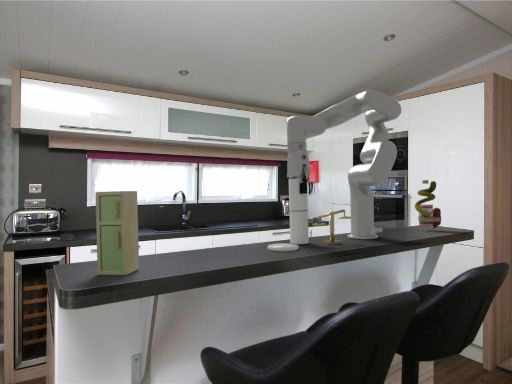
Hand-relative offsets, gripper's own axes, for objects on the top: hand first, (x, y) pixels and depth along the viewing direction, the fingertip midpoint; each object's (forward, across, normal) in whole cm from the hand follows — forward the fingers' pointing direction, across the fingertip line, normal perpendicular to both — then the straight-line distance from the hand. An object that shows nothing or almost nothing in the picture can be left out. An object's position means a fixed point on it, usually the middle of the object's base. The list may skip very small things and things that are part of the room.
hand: (298, 193), depth 126 cm
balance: (+20, -7, -10) cm, 23 cm away
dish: (+19, -8, +12) cm, 24 cm away
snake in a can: (+21, +3, -75) cm, 78 cm away
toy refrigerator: (+19, -19, +66) cm, 71 cm away
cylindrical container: (+19, 0, 0) cm, 19 cm away
